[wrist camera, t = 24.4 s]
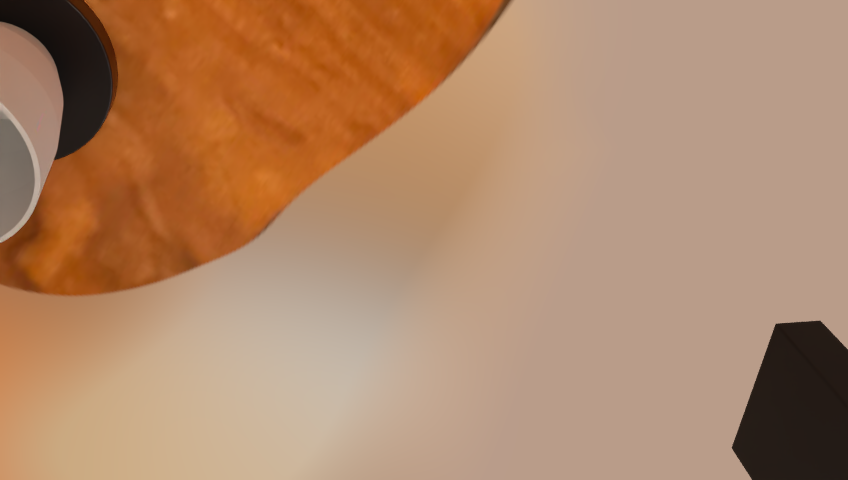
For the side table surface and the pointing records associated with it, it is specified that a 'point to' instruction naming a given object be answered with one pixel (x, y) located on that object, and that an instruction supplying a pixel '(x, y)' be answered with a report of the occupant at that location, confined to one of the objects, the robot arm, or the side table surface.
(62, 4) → the trivet
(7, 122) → the cup
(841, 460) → the robot arm
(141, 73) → the side table surface
